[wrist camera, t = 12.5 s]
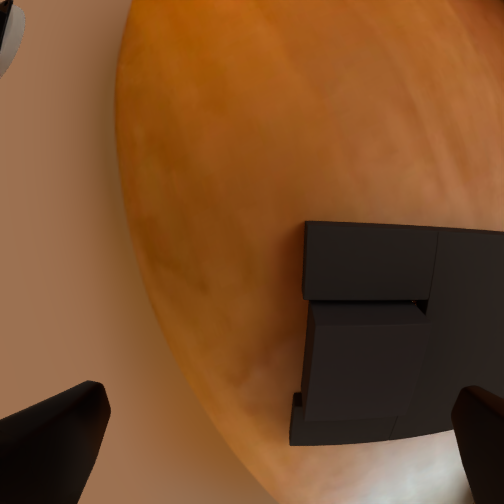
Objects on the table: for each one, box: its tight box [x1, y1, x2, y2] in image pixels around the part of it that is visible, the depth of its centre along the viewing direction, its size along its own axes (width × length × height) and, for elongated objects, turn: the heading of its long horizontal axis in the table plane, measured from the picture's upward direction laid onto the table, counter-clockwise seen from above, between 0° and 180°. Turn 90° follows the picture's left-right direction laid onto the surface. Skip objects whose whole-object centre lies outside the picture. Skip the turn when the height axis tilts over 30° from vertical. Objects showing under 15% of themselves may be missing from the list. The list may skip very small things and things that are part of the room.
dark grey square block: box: [301, 300, 432, 421], centre depth 17 cm, size 6×6×4 cm
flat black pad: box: [289, 221, 504, 446], centre depth 17 cm, size 20×15×2 cm
